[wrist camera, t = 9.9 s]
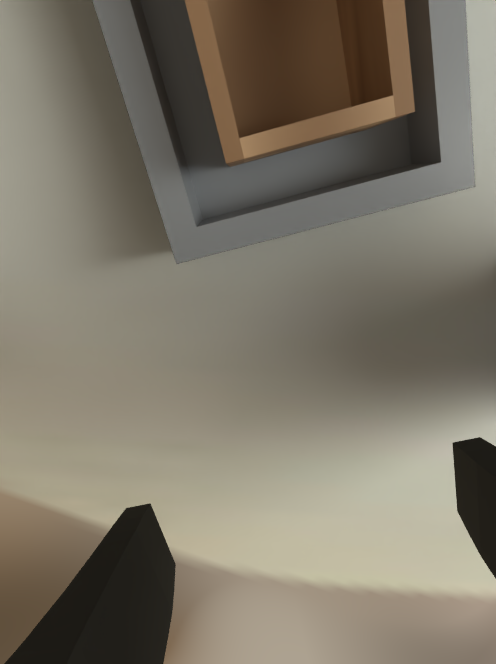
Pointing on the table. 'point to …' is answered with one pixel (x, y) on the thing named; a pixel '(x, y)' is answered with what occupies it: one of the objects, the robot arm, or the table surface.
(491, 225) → the table surface
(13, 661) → the robot arm
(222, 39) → the small crate
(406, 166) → the big crate
